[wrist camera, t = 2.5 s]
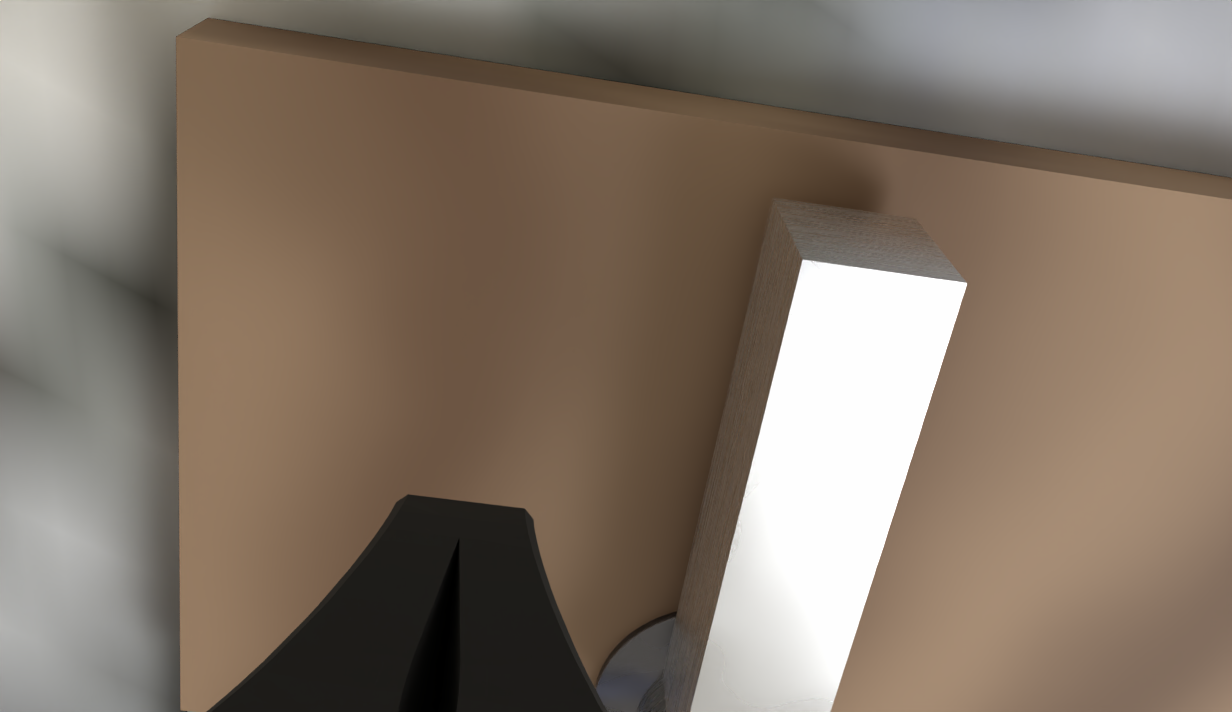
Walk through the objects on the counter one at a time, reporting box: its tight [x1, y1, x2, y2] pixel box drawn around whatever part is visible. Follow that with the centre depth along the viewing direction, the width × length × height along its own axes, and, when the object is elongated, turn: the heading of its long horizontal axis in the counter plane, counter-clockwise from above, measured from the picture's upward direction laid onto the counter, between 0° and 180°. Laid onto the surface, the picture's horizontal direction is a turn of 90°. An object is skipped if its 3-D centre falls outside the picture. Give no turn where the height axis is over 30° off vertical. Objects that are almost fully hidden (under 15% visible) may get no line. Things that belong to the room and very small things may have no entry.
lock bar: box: [636, 198, 967, 712], centre depth 17 cm, size 10×3×2 cm, turn 171°
